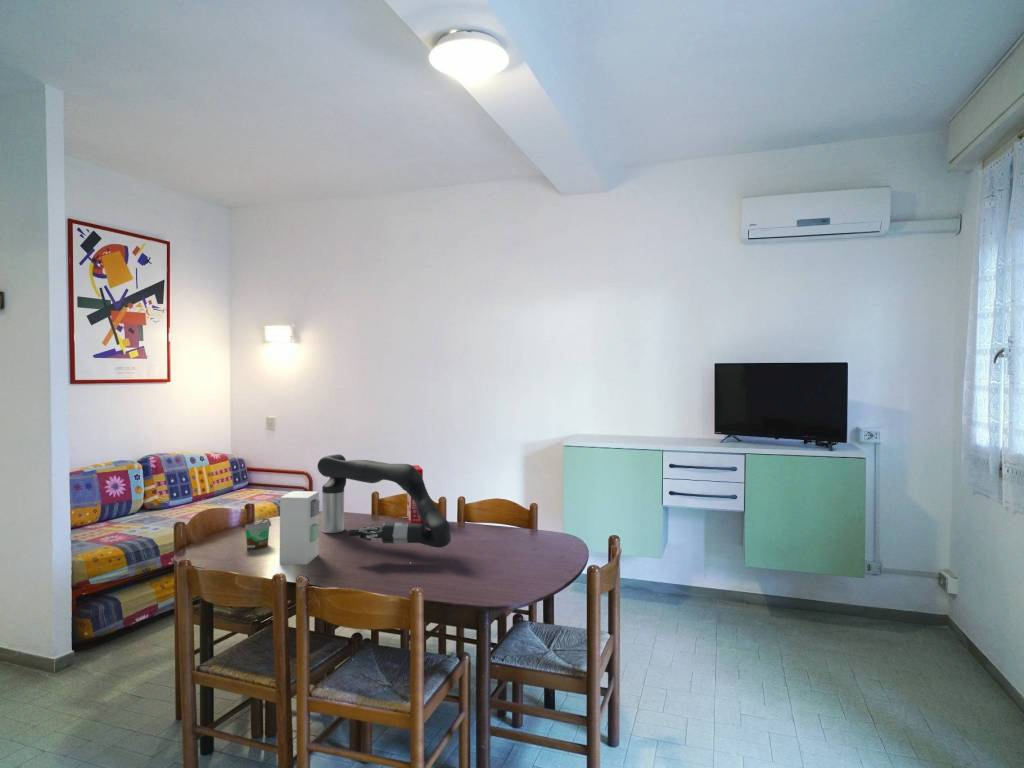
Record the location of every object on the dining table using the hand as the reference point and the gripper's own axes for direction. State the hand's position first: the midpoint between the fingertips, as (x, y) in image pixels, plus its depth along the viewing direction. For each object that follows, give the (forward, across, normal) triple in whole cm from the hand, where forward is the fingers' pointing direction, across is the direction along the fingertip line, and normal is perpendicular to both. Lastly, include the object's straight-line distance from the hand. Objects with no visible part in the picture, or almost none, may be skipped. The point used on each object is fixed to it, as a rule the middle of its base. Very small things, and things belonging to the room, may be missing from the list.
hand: (349, 532), depth 224 cm
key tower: (+18, 0, +10) cm, 21 cm away
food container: (+39, -16, +10) cm, 43 cm away
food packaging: (-13, -64, +10) cm, 67 cm away
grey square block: (+15, 0, -6) cm, 16 cm away
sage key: (+15, 0, +3) cm, 15 cm away
